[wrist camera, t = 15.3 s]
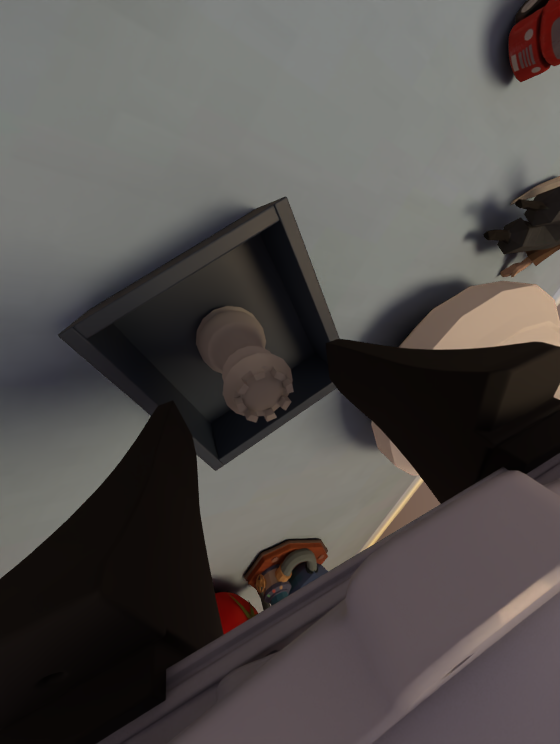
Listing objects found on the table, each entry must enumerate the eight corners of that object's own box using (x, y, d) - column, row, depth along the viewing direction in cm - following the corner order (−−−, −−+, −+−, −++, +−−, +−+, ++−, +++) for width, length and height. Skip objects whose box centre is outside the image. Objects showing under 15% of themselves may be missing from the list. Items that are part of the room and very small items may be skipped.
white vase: (449, 433, 35) (677, 589, 19) (332, 455, 28) (548, 743, 12) (526, 287, 27) (1026, 351, 11) (390, 261, 20) (1355, 345, 4)
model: (335, 538, 36) (379, 617, 29) (302, 579, 38) (335, 663, 31) (270, 540, 30) (303, 640, 23) (234, 588, 32) (254, 696, 25)
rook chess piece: (272, 331, 18) (331, 383, 11) (233, 377, 18) (268, 453, 12) (224, 289, 15) (263, 324, 9) (180, 343, 16) (186, 414, 9)
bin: (207, 429, 20) (215, 471, 16) (87, 310, 14) (56, 335, 10) (321, 352, 21) (354, 376, 17) (257, 207, 15) (287, 195, 11)
